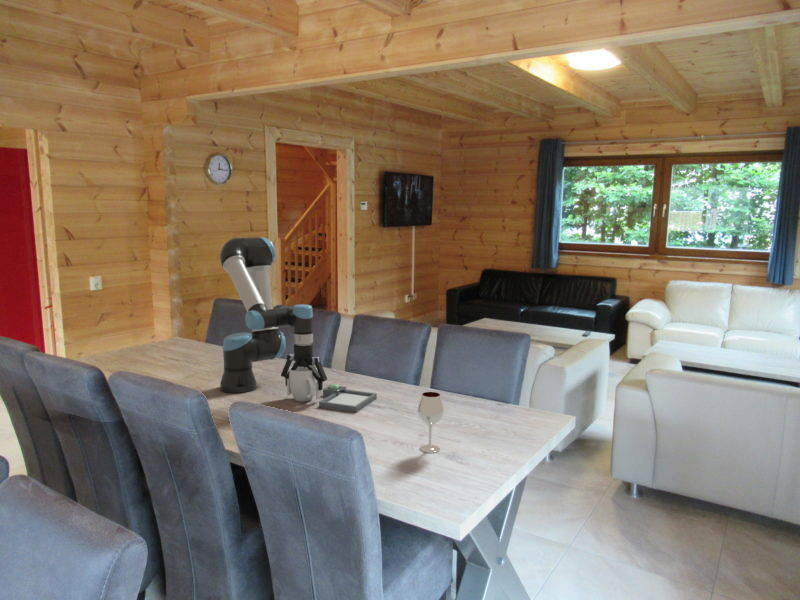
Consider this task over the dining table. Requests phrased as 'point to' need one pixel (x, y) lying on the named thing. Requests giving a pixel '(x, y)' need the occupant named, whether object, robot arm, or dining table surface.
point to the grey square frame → (333, 391)
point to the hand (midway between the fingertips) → (304, 395)
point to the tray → (348, 400)
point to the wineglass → (430, 415)
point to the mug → (302, 384)
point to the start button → (334, 386)
